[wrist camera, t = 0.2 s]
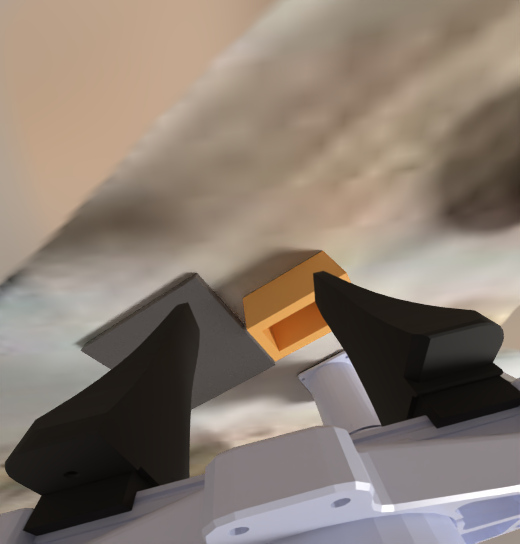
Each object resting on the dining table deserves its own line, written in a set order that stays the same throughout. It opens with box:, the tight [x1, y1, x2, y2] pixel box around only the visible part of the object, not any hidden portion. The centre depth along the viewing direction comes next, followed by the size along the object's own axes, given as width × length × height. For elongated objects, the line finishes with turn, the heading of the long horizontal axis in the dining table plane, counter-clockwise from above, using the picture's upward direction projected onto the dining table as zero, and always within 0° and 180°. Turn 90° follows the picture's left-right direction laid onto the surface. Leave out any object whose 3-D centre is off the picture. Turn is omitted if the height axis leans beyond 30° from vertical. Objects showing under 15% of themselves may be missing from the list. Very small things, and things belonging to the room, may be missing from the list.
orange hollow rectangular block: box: [243, 251, 351, 361], centre depth 22 cm, size 5×10×5 cm, turn 121°
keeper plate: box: [81, 273, 275, 409], centre depth 24 cm, size 16×15×6 cm
